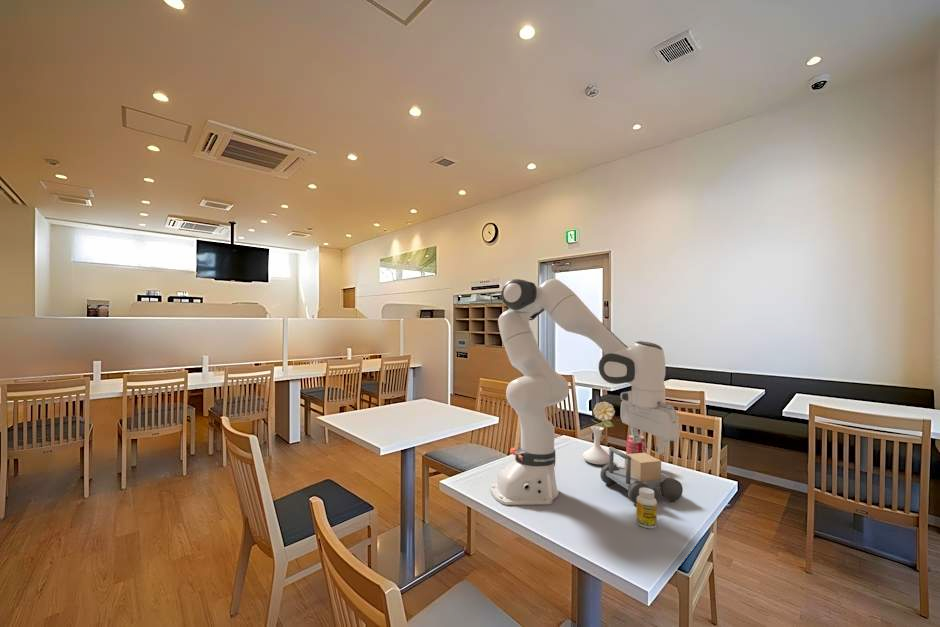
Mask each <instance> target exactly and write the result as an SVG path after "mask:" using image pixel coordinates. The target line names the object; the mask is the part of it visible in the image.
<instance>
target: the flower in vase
mask: <svg viewBox="0 0 940 627" xmlns="http://www.w3.org/2000/svg"><path fill="white" fill-rule="evenodd" d="M592 412H593V415H594V418H596V419H597V420H600V421H601V424H599V426H597V425H594V426H591V427H590V428H591V430H592V431H593V437H594V438H593V439H594V440H593V446H592V447H590V448H589V449H586V450H585V451H584V453H583V454H582V459H583V460H584V461H585V462H588V463H590V464H594V465H600V466H601V465H603V466H604V465H606V464H609V452H607V451H606V450H605V449H604V448H602V445H601V435H602V433H603V431H604V430H605V428H604V427H602V425H604V426H605V427H606V428H612V427H615V425H614V424H613V423H612V422H611V421H610V420H612V418H613V417H614V416H615V414H616V410H615V408H614V405H612V404H611V403H609V402H606V401H603V402H602V401H600V402H598V403H596V404H595V405H594V408H593V411H592ZM592 422H594V423H596V424H598V422H597V421H595V420H594V419H592Z"/></svg>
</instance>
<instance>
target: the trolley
mask: <svg viewBox="0 0 940 627" xmlns="http://www.w3.org/2000/svg"><path fill="white" fill-rule="evenodd" d="M608 454H609V463H608V464H604V465H603V467H602V468H601V470H600V479H601V481H602V482H603V483H605V484H606V485H608V486H610V487H613V486H612V485H614V486H615V485H616V486H617V484H618V485H620V486H621V487H623V488H624V489H626V490H627V497H628V500H630V502H632V503H633V504H635V505H636V500H637V496H638V495H640V494H639V489H640V488H649V489H654V488H659V492H660V495H661V497H662V498H663V499H665V500H666V501H668V502H670V503H675V502H677V501H678V500H680V498H681V497H682V495H683V485H682V483H681V482H680V481H679V480H677V479H676V478H673V477H670V476H668V475H666V474H665V473H662V460H661V459H658V458H656V457H654V456H653V455H650V454H649V453H647V452H646V453H634V454H626V453H624V452H622V451H620V450H619V449H616V448H615V447H613V446H609V447H608ZM614 454H615V455H618V456H619V457H621V458H623V459H624V469H623V468H621V469H620V467H619V466H617V465H616V464H614V460H615V459H614Z"/></svg>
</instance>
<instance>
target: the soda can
mask: <svg viewBox="0 0 940 627" xmlns="http://www.w3.org/2000/svg"><path fill="white" fill-rule="evenodd" d="M639 436H641V442H640V443H636V442H634V441H633V435H632V433H630V434H628V437H627V438H626V444H625V445H626V446H625V447H626V452H625V454H634V453H646V454H647V451H646V450H647V447H646V446H647V445H646V444H647V443H646V440H645V436H644V435H641V434H639Z"/></svg>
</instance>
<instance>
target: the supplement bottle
mask: <svg viewBox="0 0 940 627" xmlns="http://www.w3.org/2000/svg"><path fill="white" fill-rule="evenodd" d="M639 494H640V495H638V496H637V500H636V504H635V506H636V512H635V514H636V516H635V518H636V523H637V524H638V525H639V526H640V527H642V528H644V529H645V528H646V529H655V528H656V527H657V525H658V524H657V523H658V522H657V521H658V502H657V499H656V497H655V491H654V490H653V488H650V489H649V488H640V489H639Z"/></svg>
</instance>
